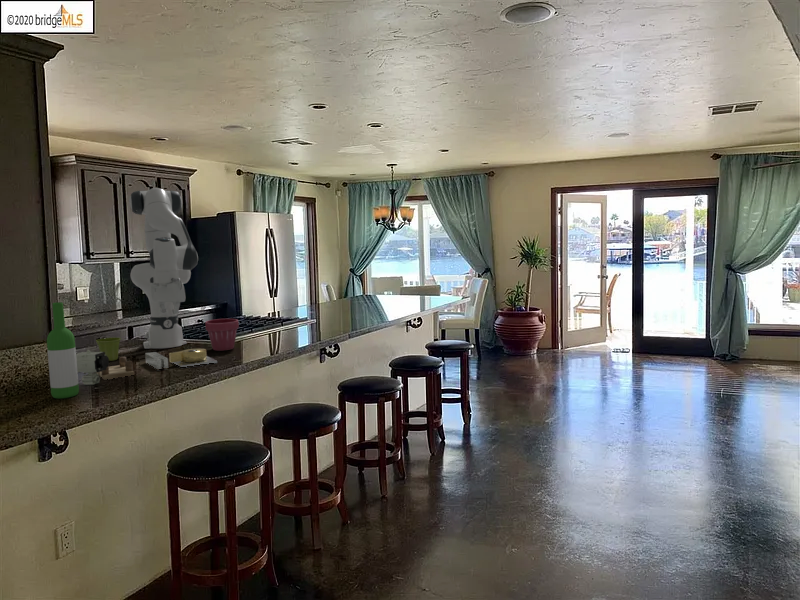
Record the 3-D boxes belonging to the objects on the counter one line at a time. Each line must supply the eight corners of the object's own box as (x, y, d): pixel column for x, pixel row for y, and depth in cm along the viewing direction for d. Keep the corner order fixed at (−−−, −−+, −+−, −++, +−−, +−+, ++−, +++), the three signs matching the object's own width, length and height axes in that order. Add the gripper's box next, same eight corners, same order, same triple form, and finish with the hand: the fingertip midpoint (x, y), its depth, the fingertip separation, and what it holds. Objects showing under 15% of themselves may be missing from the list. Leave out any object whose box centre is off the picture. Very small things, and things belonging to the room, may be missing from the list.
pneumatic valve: (79, 382, 207) (76, 348, 206) (111, 382, 206) (108, 348, 205) (69, 386, 202) (66, 351, 200) (101, 386, 200) (98, 351, 199)
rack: (95, 372, 223) (94, 359, 222) (125, 368, 229) (124, 355, 228) (103, 380, 210) (102, 366, 209) (134, 375, 216) (133, 362, 215)
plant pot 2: (227, 352, 257) (225, 323, 255) (200, 351, 261) (198, 322, 260) (246, 346, 270) (244, 318, 269) (219, 345, 275) (218, 318, 273)
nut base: (170, 362, 238) (170, 359, 238) (205, 357, 246) (205, 355, 246) (181, 368, 227) (180, 365, 226) (217, 362, 235) (217, 360, 235)
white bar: (145, 362, 238) (145, 353, 238) (156, 361, 241) (155, 351, 240) (157, 370, 224) (156, 359, 223) (168, 368, 226) (167, 358, 226)
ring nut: (202, 356, 243) (201, 347, 243) (210, 359, 235) (209, 350, 235) (166, 360, 235) (166, 351, 235) (174, 364, 227) (173, 355, 226)
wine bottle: (59, 400, 184) (51, 304, 180) (46, 397, 188) (38, 303, 184) (84, 394, 190) (76, 301, 187) (70, 391, 194) (63, 301, 191)
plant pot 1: (127, 358, 249) (125, 338, 248) (108, 362, 240) (106, 341, 239) (111, 357, 253) (110, 336, 252) (92, 361, 244) (90, 340, 243)
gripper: (188, 277, 229) (190, 313, 230) (161, 278, 242) (164, 311, 243) (173, 278, 224) (175, 315, 225) (146, 279, 237) (149, 313, 238)
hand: (169, 313), depth 234 cm, fingers open, 8 cm apart
